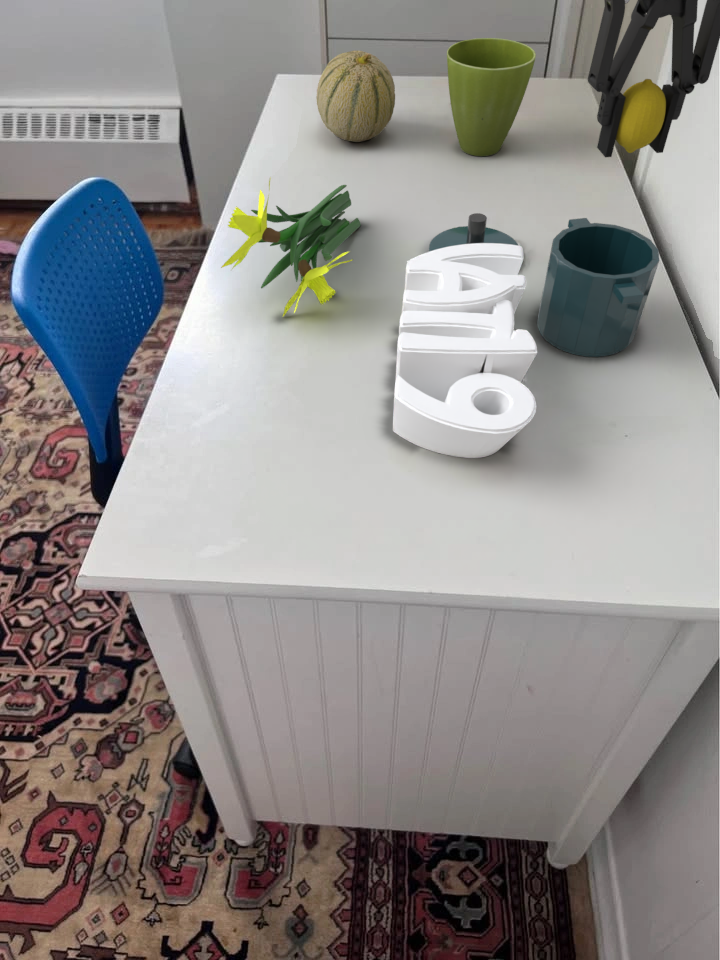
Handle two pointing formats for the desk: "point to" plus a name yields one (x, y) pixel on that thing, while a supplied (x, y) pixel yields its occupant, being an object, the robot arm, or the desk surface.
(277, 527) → the desk surface
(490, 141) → the flower pot
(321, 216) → the daffodil flowers
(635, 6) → the robot arm
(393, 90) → the cantaloupe
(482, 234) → the lid
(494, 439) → the wavy white extrusion
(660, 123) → the lemon
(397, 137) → the desk surface
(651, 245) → the pot
